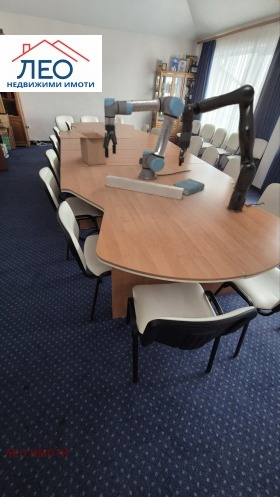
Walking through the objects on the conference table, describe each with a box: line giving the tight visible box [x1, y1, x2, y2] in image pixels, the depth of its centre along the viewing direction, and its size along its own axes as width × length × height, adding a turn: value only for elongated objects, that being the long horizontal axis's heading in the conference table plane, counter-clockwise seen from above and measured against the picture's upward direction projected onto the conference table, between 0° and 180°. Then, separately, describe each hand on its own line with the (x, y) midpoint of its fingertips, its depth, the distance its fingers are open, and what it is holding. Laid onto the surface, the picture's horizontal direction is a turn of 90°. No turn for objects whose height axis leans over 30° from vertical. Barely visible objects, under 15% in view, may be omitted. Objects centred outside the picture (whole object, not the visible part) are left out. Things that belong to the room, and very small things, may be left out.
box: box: [70, 129, 107, 166], centre depth 229 cm, size 44×36×27 cm
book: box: [172, 178, 205, 196], centre depth 185 cm, size 23×16×5 cm
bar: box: [105, 174, 184, 200], centre depth 176 cm, size 63×5×8 cm, turn 72°
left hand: (110, 155), depth 170 cm, fingers open, 13 cm apart
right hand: (180, 164), depth 157 cm, fingers open, 8 cm apart
